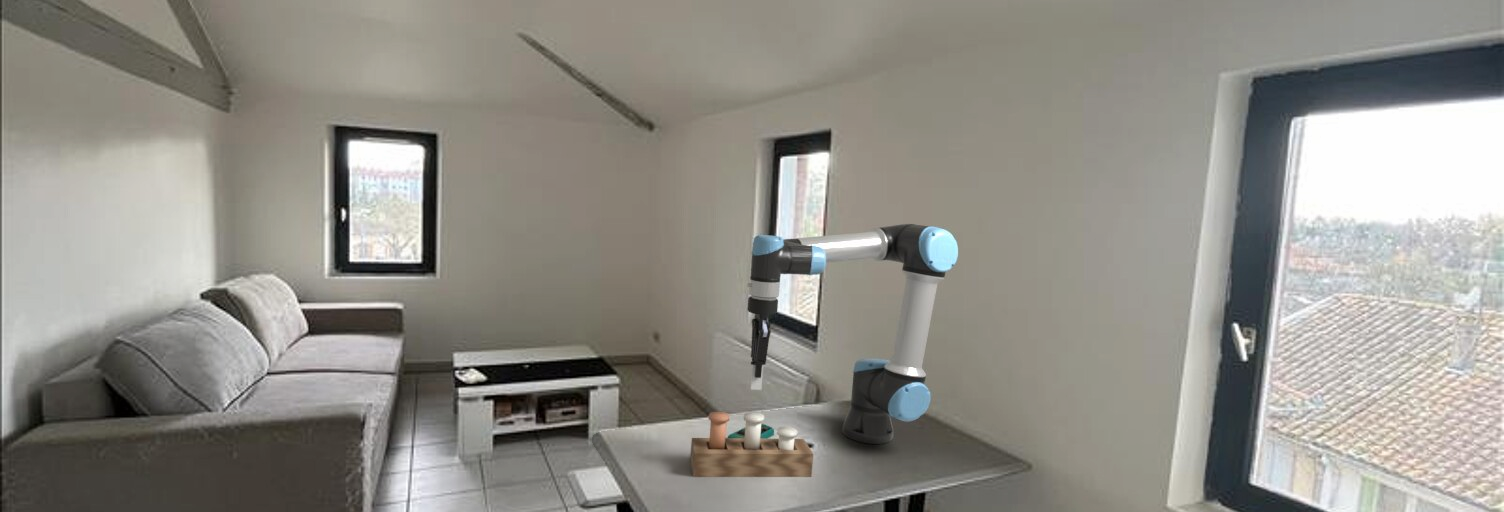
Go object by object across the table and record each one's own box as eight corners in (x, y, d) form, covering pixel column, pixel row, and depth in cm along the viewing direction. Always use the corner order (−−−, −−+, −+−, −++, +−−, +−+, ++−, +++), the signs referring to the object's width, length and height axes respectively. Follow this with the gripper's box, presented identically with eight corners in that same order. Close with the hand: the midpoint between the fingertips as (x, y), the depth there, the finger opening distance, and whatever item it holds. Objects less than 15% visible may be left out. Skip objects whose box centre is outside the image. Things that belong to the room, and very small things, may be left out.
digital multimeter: (775, 436, 199) (775, 426, 199) (748, 451, 186) (749, 440, 186) (753, 430, 203) (754, 420, 203) (726, 444, 190) (727, 434, 190)
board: (801, 460, 182) (803, 438, 181) (811, 476, 172) (813, 454, 171) (690, 459, 176) (691, 437, 176) (693, 476, 167) (694, 453, 166)
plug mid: (759, 445, 177) (762, 412, 176) (763, 453, 172) (766, 419, 171) (739, 445, 176) (742, 411, 175) (743, 453, 171) (745, 419, 170)
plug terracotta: (725, 445, 175) (727, 411, 174) (728, 453, 170) (730, 418, 169) (705, 445, 174) (707, 411, 173) (707, 453, 169) (709, 418, 168)
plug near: (792, 459, 179) (794, 426, 178) (796, 468, 174) (799, 434, 173) (772, 459, 178) (775, 426, 177) (776, 468, 173) (779, 434, 172)
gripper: (744, 291, 175) (737, 380, 178) (753, 301, 162) (745, 396, 165) (773, 293, 176) (765, 381, 179) (783, 302, 164) (775, 397, 166)
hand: (755, 388), depth 172 cm, fingers closed
